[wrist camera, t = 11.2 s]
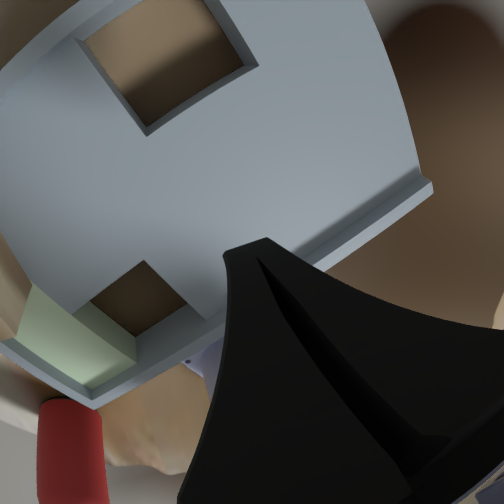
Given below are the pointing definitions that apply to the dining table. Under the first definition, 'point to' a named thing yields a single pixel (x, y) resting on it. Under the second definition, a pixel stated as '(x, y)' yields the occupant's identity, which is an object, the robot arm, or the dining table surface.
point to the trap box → (190, 178)
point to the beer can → (70, 454)
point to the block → (11, 291)
